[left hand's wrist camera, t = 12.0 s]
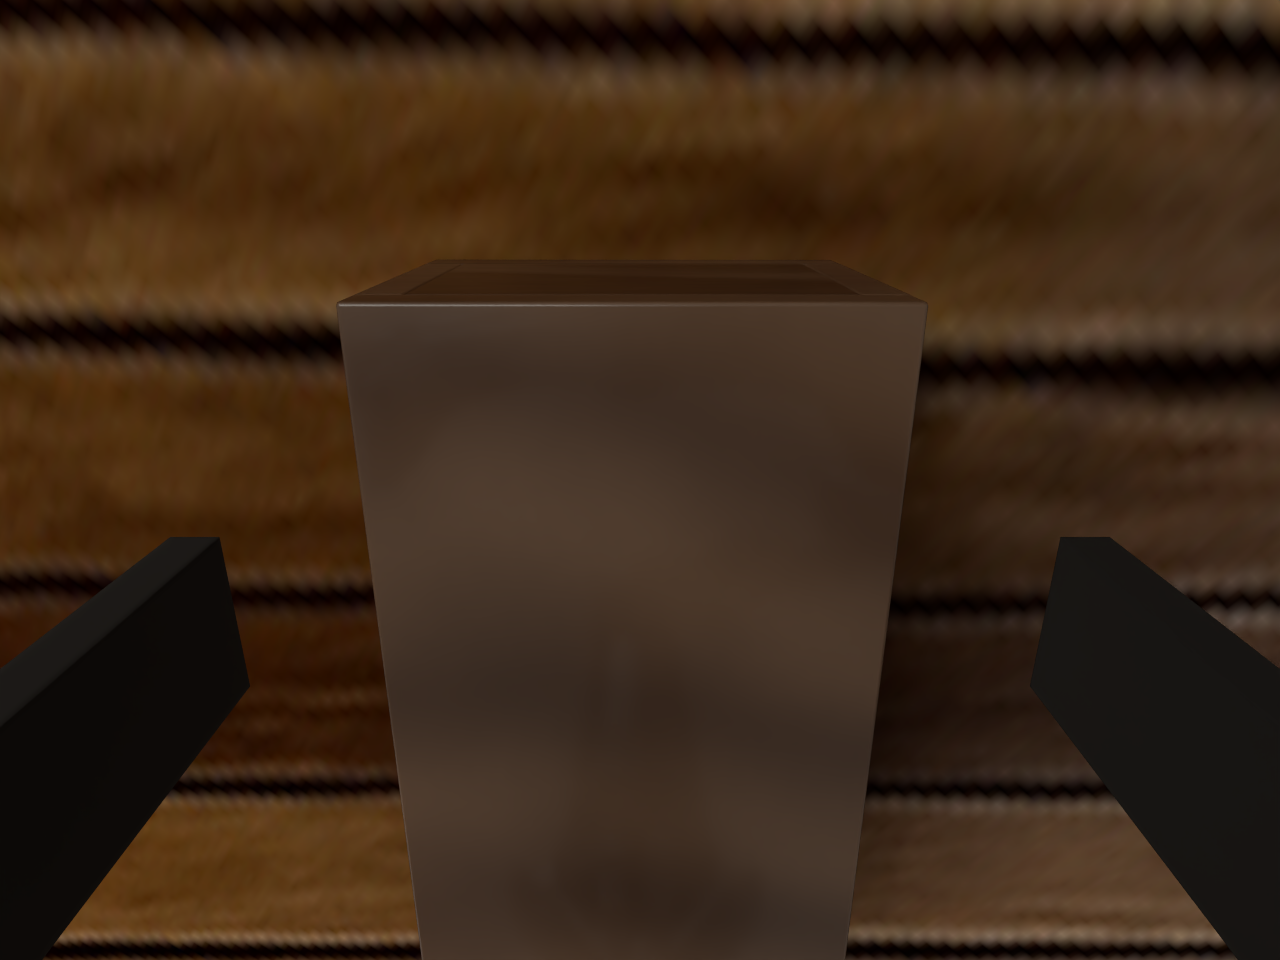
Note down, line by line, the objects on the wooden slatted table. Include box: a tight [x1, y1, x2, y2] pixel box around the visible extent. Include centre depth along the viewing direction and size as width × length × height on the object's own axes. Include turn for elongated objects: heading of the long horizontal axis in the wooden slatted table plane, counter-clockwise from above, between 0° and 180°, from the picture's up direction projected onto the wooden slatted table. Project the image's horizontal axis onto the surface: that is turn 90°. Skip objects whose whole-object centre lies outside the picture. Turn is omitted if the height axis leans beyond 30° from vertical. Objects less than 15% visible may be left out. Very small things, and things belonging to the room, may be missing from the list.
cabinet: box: [336, 260, 928, 960], centre depth 23 cm, size 20×12×8 cm, turn 0°
